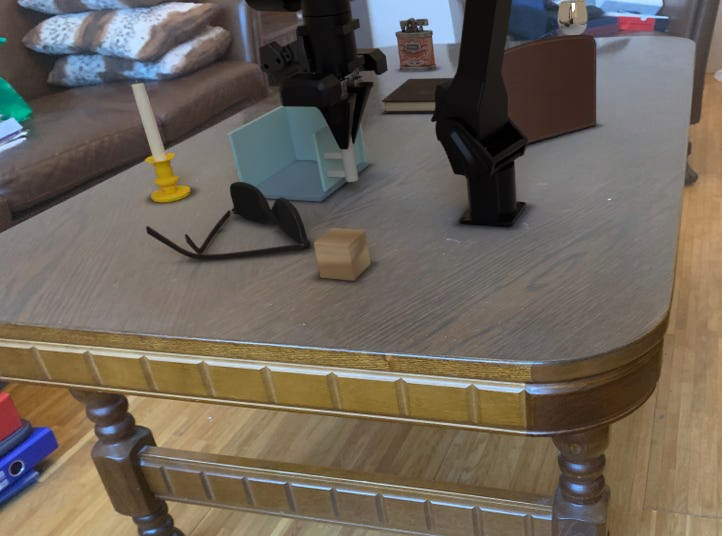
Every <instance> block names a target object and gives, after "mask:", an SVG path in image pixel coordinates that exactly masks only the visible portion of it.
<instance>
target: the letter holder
mask: <svg viewBox="0 0 722 536" xmlns="http://www.w3.org/2000/svg"><path fill="white" fill-rule="evenodd" d="M502 78H503V81H504V85H505V88H506V91H507V94H508V117H509V118H510V119H511V120H512V121H513V122H514V124H515V125H516V126H517V127H518V128H519V129H520V130H521V132H522V133H523V134H524V135H525V136H526V137H527V138H528V143H527V145H530V144H534V143H537V142H540V141H544V140H548V139H552V138H555V137H560V136H562V135H566V134H571V133H574V132H577V131H581V130H585V129H588V128H591V127H596V125H597V42H596V39H595V38H594V37H593V36H592V35H591V34H580V35H566V36H565V35H557V36H551V37H545V38H539V39H535V40H530V41H526V42H524V43H521V44H518V45H515V46H511V47H509V48H505V51H504V57H503V64H502ZM485 149H487V148H486V147H485Z"/></svg>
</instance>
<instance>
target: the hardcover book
mask: <svg viewBox="0 0 722 536" xmlns="http://www.w3.org/2000/svg"><path fill="white" fill-rule="evenodd" d="M452 78H453V77H433V78H432V77H431V78H429V77H428V78H427V77H426V78H424V77H423V78H408V79H406V80H405V81H404V82H403V83H401V84H400V85H399V86H398V87H397V88H395V89H394V90H393V91H391V92H390V93H389V94H388V95H387V96H386V97H384V98H383V99H382V100H381V103H384V111H383V115H393V114H395V115H396V114H397V115H399V114H402V115H403V114H404V115H405V114H407V115H409V114H410V115H411V114H434V111H435V90H436V86H437V85H438V84H441V83H443V82H445V81H447V80H449V79H452Z"/></svg>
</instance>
